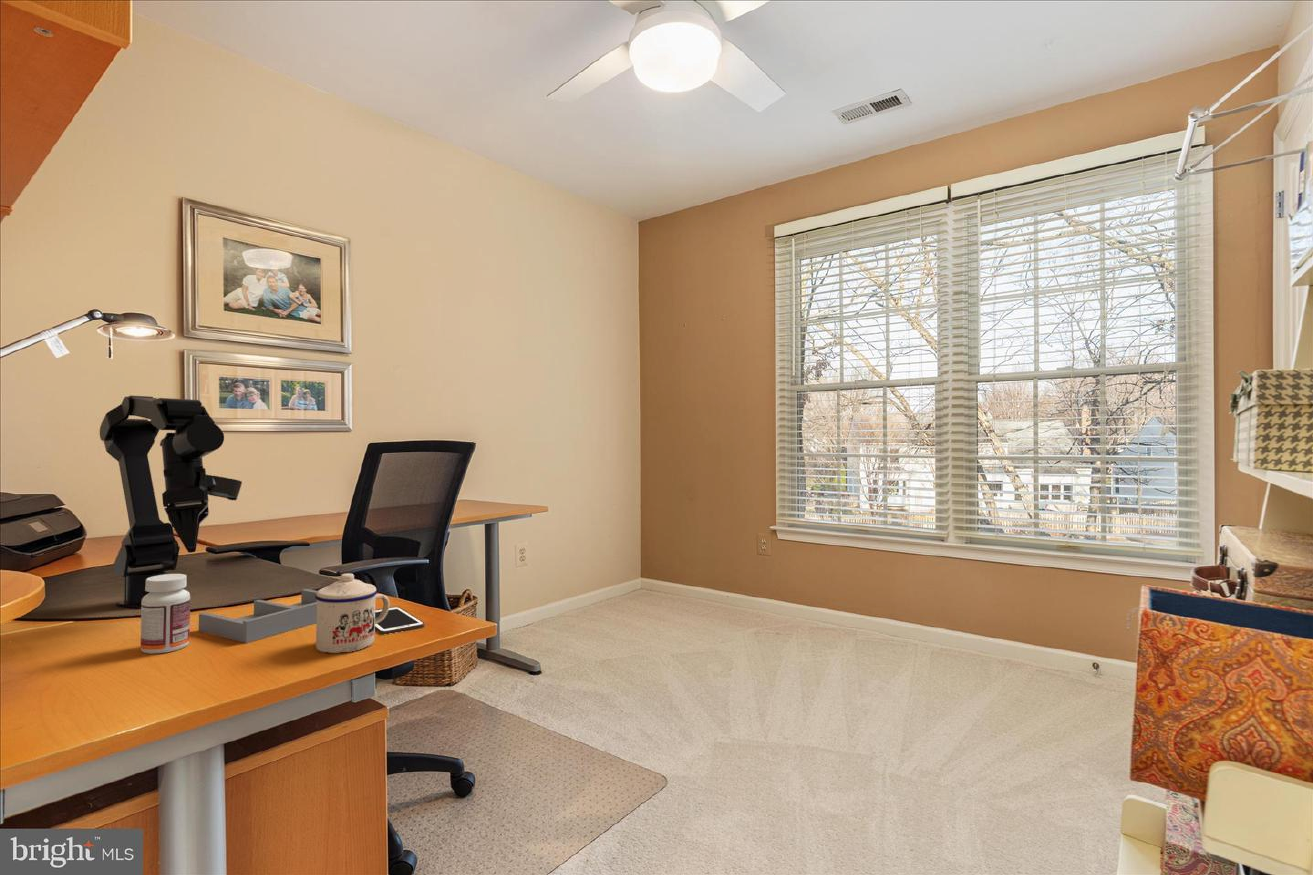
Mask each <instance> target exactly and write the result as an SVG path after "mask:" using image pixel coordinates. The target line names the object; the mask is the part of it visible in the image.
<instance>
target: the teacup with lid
mask: <svg viewBox="0 0 1313 875" xmlns="http://www.w3.org/2000/svg"><path fill="white" fill-rule="evenodd" d="M339 578H340V580H339V579H338V580H336V581H334V582H333V583H332V584H330V585H328V586H324V587H322V588H320V589H318V590H317V591H318V592H317V594H316V596H315V598H316V599H317V623H316V625H315V626H316V630H315V631H316V633H315V636H316V637H315V648H316V650H318V651H320V652H322V653H325V652H329V653H328V654H341V653H340V652H347V653H351V652H352V651H353V652H357V651H361V650H364V649H366V648H368V647H370V646H371V645H372V644H374V642H375V632H376V630H375V624H377V623H379V622H381V621H382V620H383V619H384V618H385V617H386V615H387V613H388V611H389V607H391V605H390V599H389V597H388V596H387V595H385V594H382V593H378V590H377V587H376V586H375V585H373V584H371V583H365V582H363V580H360V579H356V578H355V575H354V574H353V573H342V574H341V575H340V577H339ZM380 599H381V600H382V602H383V606H382V608H381V609H382V612H381V613H380V615H379V616H378V617H377V618H375V610H376V600H380ZM367 646H368V647H367ZM365 647H366V648H365ZM363 648H364V649H363ZM360 649H361V650H360ZM356 650H357V651H356Z"/></svg>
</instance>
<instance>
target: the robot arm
mask: <svg viewBox="0 0 1313 875" xmlns="http://www.w3.org/2000/svg"><path fill="white" fill-rule="evenodd" d="M130 416H131V417H132V416H133V417H135V416H136V417H140V418H129V417H130ZM215 422H216V421H215V420H214V419H213V418H212V417H211V416H210V414H209V413H208V411H207V408H205V406H204V405H203V403H202V402H201V401H200V400H199V399H186V398H185V399H184V398H168V397H167V398H166V397H165V398H164V397H153V396H148V395H147V396H146V395H145V396H144V395H129V396H124V398H123V399H122V402H121V403H120V405H118V406H116V407H114V408H113V409H111V410H109V411H108V412H106V413H105V415H104V417H103V419H102V422H101V424H100V427H99V438H100V440H101V441H102V442H103V444H104V448H105V452H106V453H107V454H109V455H110V456H111V457H112V458H114V459H115V460H116V461H117V462H118V466H119V467H118V468H119V471H120V477H121V483H122V490H123V495H124V500H125V502H124V503H125V505H126V513H127V518H128V524H129V529H128V530H127V532H126V534H125V536H124V537H123V538H122V540H121V546H120V548H119V551H118V553H117V555H116V557H115V559H114V562H113V570H114V572H113V573H114V575H116V576H119V577H121V578H124V591H123V593H124V597H123V598H124V600H123V601H118V602H115V606H116V607H117V606H118V607H127V608H136V609H141V602H142V599H143V597H144V596H145V595H147V594H149V593H150V592H147V591H145V586H146V579H147V578H149V577H153V576H158V575H165V574H167V573H166V572H167V571H168V572H169V571H176V567H177V565H178V560H179V559H178V558H179V553H180V549H181V547H180V545H179V543H178V541H177V539H176V537H175V534H174V531H175V532H176V534H177V536H178V538H179V539H180V541H181V543H182V544H183V546H184V548H185V549H186V551H187V553H189V554H190V553H191V554H192V553H195V552H197V546H198V545H197V543H198V536H199V531H200V525H201V523H202V522H204V520H206V519H207V518H208V517H209V514H210V512H209V496H213V497H216V498H224V499H227V500H229V501H237V499H238V496H239V494H240V490H241V488H242V484H243V481H241V480H239V479H234V478H228V477H223V476H219V475H211V474H207V471H206V468H205V467H204V462H203V457H206V456H208V455H210V454H211V453H213V452H214V451H215V452H216V450H219V448H221V447H222V445H223V443H224V441H225V434H224V432H223V431H222V429H221V427H220V426H218V425H217V424H215ZM159 431H175V432H166V434H165V436H164V437H163V438H161V440H160V442H159V446H160V447H161V451H162V463H163V469H162V470H163V471H162V472H163V476H164V477H163V478H164V484H165V486H164V487H165V491H164V492H163V493H162V494H161V495H162V496H161V497H162V505H163V508H164V511H165V513H166V515H167V518H168V521H169V522H164V521H163V520H161V519H160V516H159V510H158V505H157V499H156V494H155V489H154V482H153V478H152V473H151V472H152V471H151V468H150V462H149V455H148V454H149V453H150V451H151V449H152V448H153V446H154V444H155V442H156V438H157V436H158V434H159Z"/></svg>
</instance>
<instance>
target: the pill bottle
mask: <svg viewBox="0 0 1313 875" xmlns="http://www.w3.org/2000/svg"><path fill="white" fill-rule="evenodd" d="M187 584H188V583H187V574H183V573H168V574H167V573H166V574H165V575H158V576H153V577H149V578H147V579H146V586H145V591H147V592H150V593H149V594H147V595H145V596H144V597H143V599H142V602H141V608H140V650H141V652H142V653H144V654H151V655H153V654H155V655H156V654H164V653H170V652H175V651H178V650H181V649H183V648H185V647H187V646H188V645H189V644H190V635H191V634H190V633H191V632H190V630H191V629H190V628H191V626H190V625H191V624H190V622H191V594H190V592H189V591H188V590H186V589H185V588H186V587H187V586H188V585H187Z"/></svg>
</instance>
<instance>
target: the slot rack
mask: <svg viewBox="0 0 1313 875" xmlns="http://www.w3.org/2000/svg"><path fill="white" fill-rule="evenodd" d="M318 591H319V590H316V589H315V590H314V589H309V588H303V589H301V593H300V594H301V595H300V596H301V599H300V600H301V601H300V602H298V603H297V602H296V603H294V604H289V605H287V604H282V603H278V602H272V601H269V600H268V601H267V600H263V599H257V600H256V599H255V600H254V601H253V614H249V615H245V616H242V617H238V618H232V617H227V616H225V615H224V616H223V615H220V614H214V613H210V612H206V611H204V612H200V613H198V632H202V633H205V634H210V635H212V636H215V637H217V636H218V637H221V638H223V639H224V638H226V639H228V640H233V641H237V642H241V643H245V644H248V643H252V642H255V641H258V640H262V639H266V638H269V637H272V636H273V637H274V636H276V635H279V634H283V633H285V632H289V631H293V630H296V629H300V628H304V627H307V626H310V625H314V624H317V599H316V598H315V596H316V594H317V592H318Z"/></svg>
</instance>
